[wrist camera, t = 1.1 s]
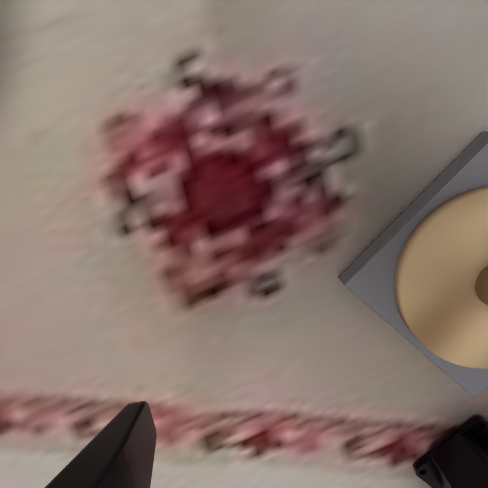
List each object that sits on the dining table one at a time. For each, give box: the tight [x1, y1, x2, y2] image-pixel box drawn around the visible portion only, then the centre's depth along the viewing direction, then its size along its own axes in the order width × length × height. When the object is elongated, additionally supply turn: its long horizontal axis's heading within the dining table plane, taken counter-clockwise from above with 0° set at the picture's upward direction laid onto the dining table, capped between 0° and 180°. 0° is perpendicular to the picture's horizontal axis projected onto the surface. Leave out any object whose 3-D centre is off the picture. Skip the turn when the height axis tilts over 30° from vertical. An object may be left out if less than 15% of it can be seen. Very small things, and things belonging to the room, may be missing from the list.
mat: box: [339, 132, 488, 397], centre depth 21 cm, size 12×12×2 cm
